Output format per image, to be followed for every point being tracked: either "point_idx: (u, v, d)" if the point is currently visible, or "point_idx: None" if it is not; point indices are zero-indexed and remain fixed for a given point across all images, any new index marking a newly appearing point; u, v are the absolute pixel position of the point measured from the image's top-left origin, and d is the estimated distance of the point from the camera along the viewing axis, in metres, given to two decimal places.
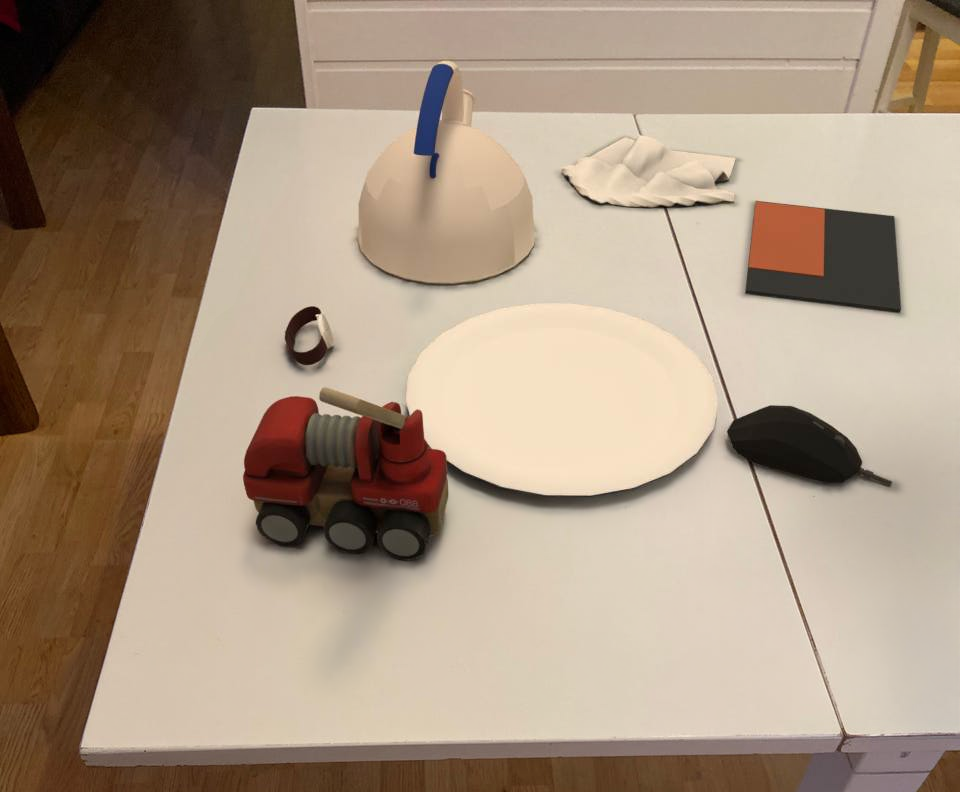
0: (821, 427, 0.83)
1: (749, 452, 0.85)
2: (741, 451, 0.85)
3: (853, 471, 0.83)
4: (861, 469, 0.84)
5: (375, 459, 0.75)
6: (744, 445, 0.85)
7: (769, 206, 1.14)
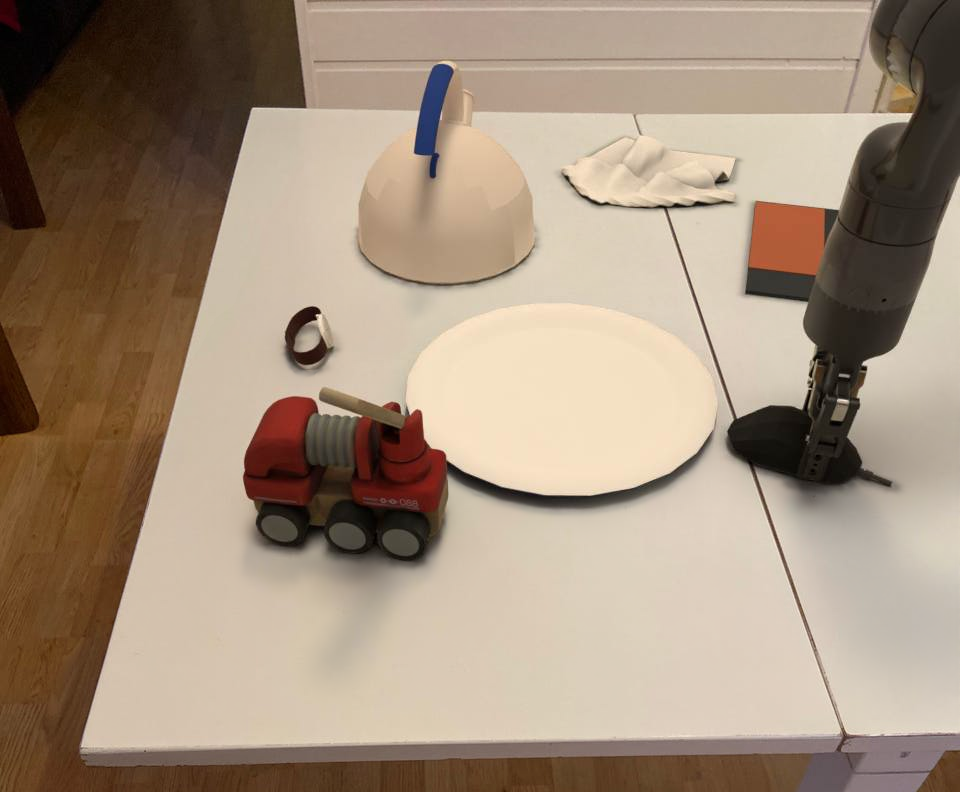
0: None
1: (749, 452, 0.85)
2: (741, 451, 0.85)
3: (853, 472, 0.83)
4: (861, 469, 0.84)
5: (375, 459, 0.75)
6: (744, 445, 0.85)
7: (769, 206, 1.14)
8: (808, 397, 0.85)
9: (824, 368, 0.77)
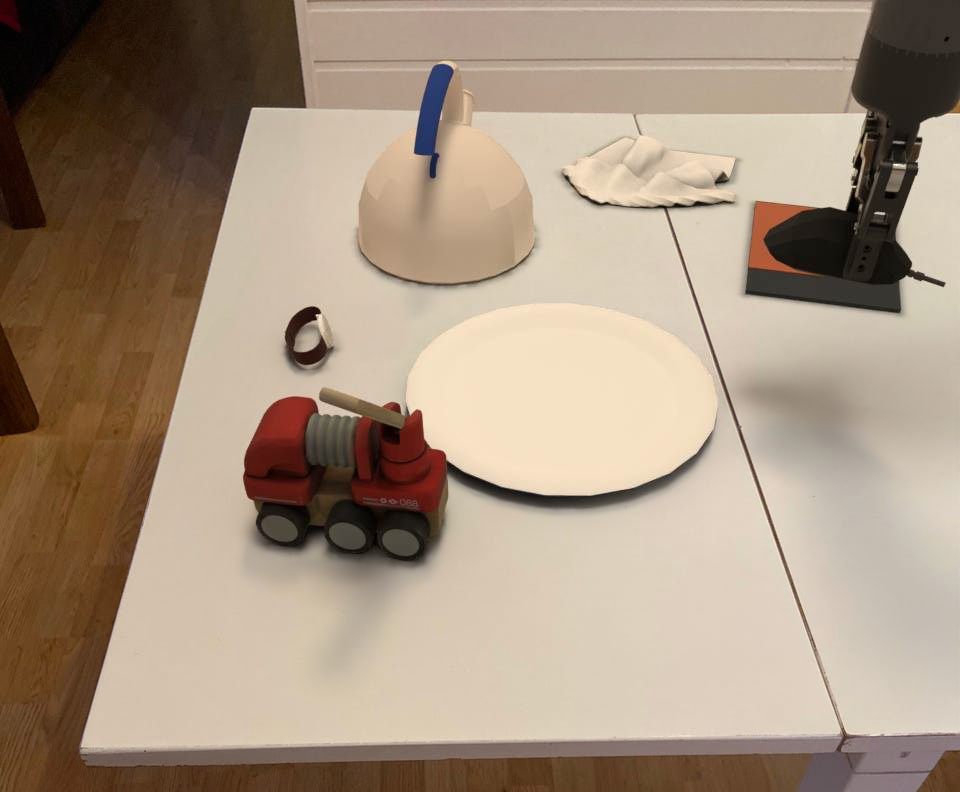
0: None
1: (789, 255, 0.78)
2: (780, 256, 0.78)
3: (904, 272, 0.77)
4: (911, 270, 0.77)
5: (375, 459, 0.75)
6: (784, 249, 0.78)
7: (769, 206, 1.14)
8: (852, 196, 0.78)
9: (875, 141, 0.70)
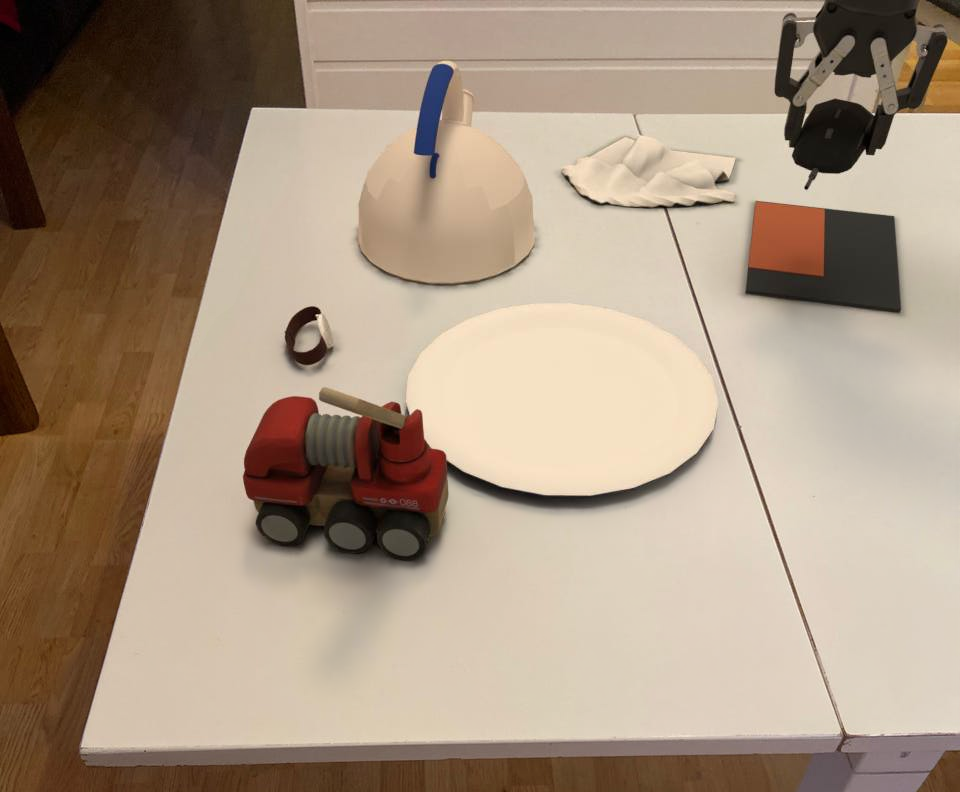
0: (836, 116, 0.88)
1: None
2: None
3: (805, 160, 0.88)
4: (815, 168, 0.88)
5: (375, 459, 0.75)
6: None
7: (769, 206, 1.14)
8: (876, 109, 0.88)
9: None
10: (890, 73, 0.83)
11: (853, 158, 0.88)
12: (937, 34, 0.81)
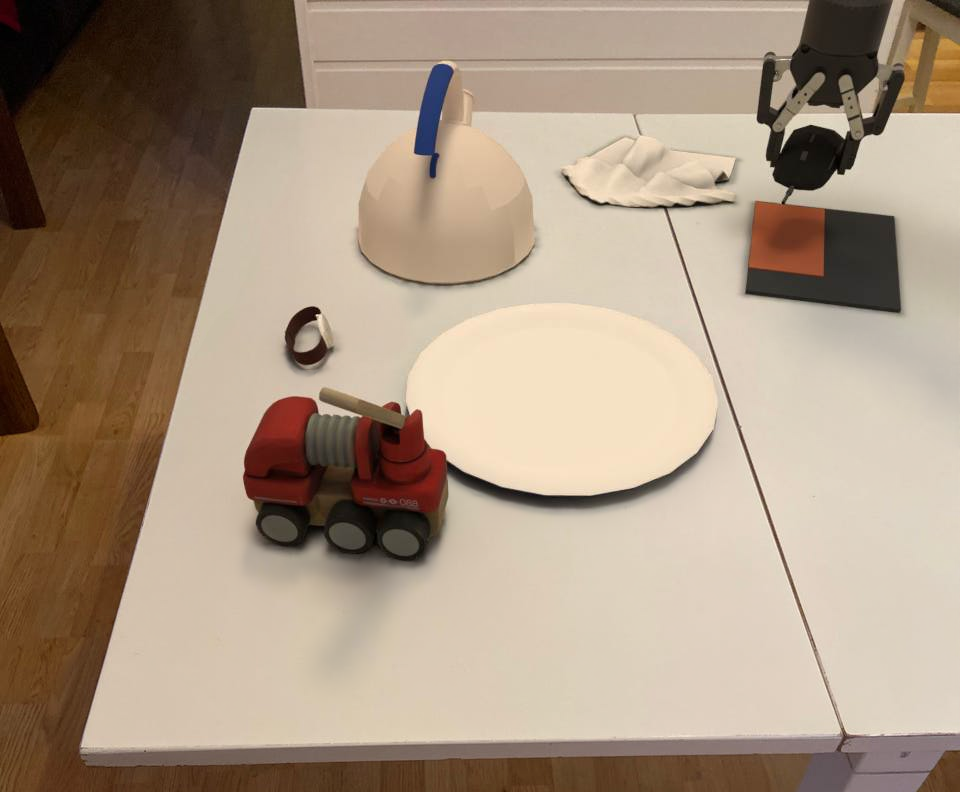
0: (810, 140, 1.01)
1: None
2: None
3: (783, 178, 1.01)
4: (791, 186, 1.01)
5: (375, 459, 0.75)
6: None
7: (769, 206, 1.14)
8: (846, 135, 1.01)
9: None
10: (856, 105, 0.96)
11: (825, 177, 1.01)
12: (896, 72, 0.94)
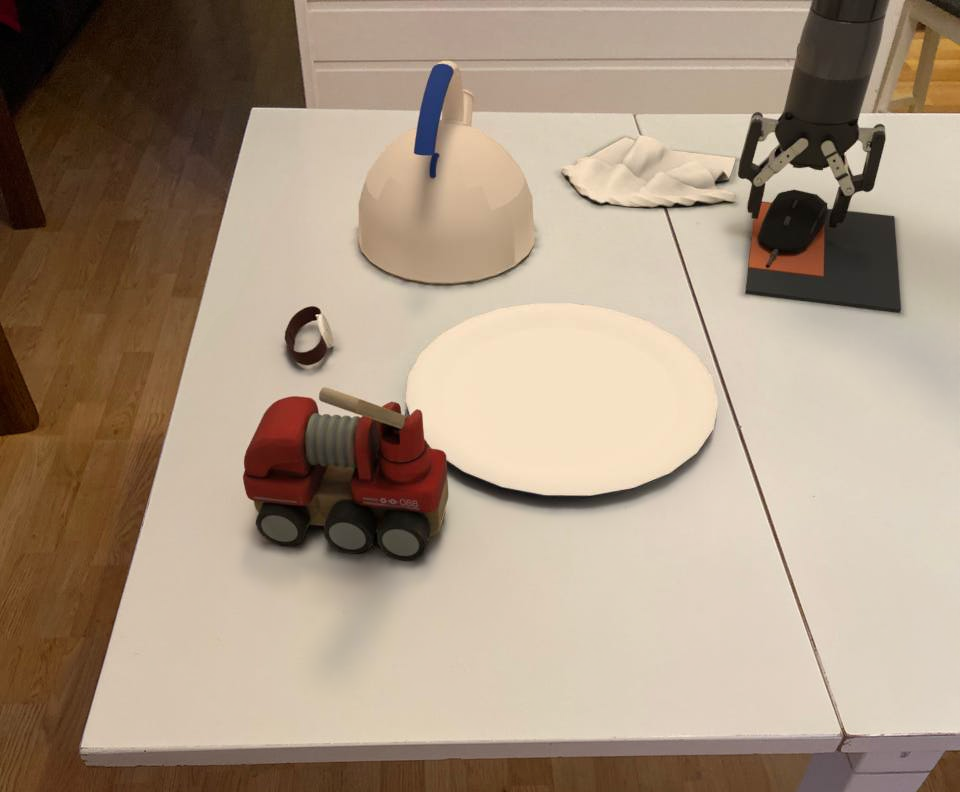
0: (793, 205, 1.06)
1: None
2: None
3: (768, 242, 1.06)
4: (775, 249, 1.06)
5: (375, 459, 0.75)
6: None
7: (769, 206, 1.14)
8: None
9: None
10: (842, 165, 1.01)
11: (807, 240, 1.06)
12: (876, 133, 0.98)
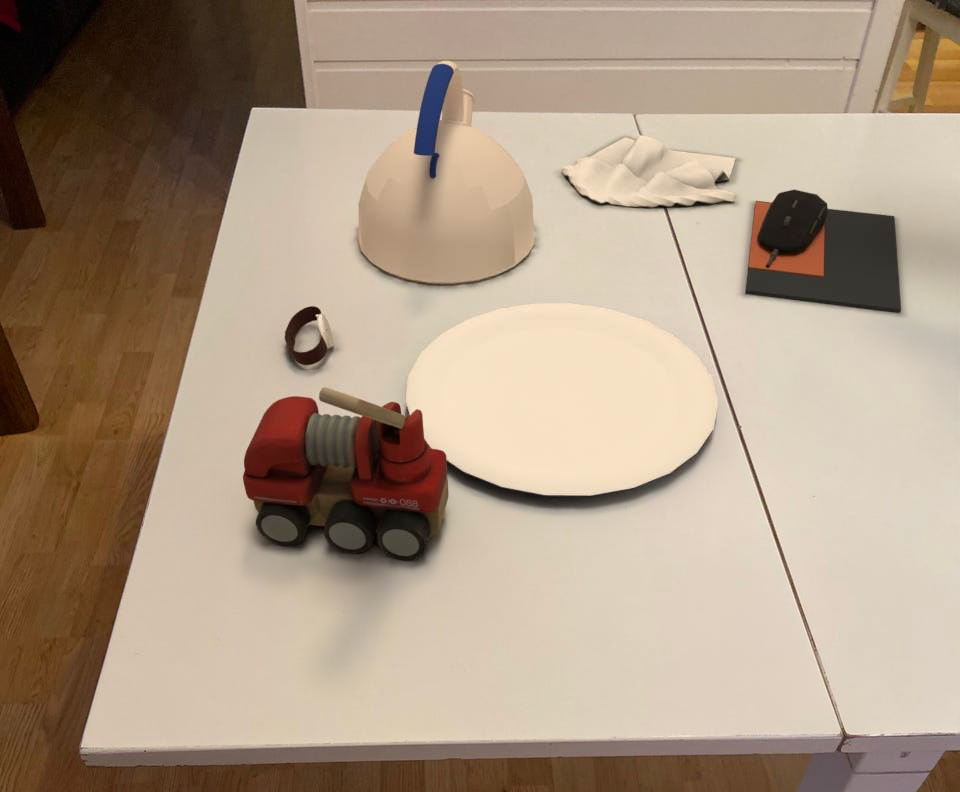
0: (793, 205, 1.06)
1: None
2: None
3: (768, 242, 1.06)
4: (775, 249, 1.06)
5: (375, 459, 0.75)
6: None
7: (769, 206, 1.14)
8: None
9: None
10: None
11: (807, 240, 1.06)
12: None
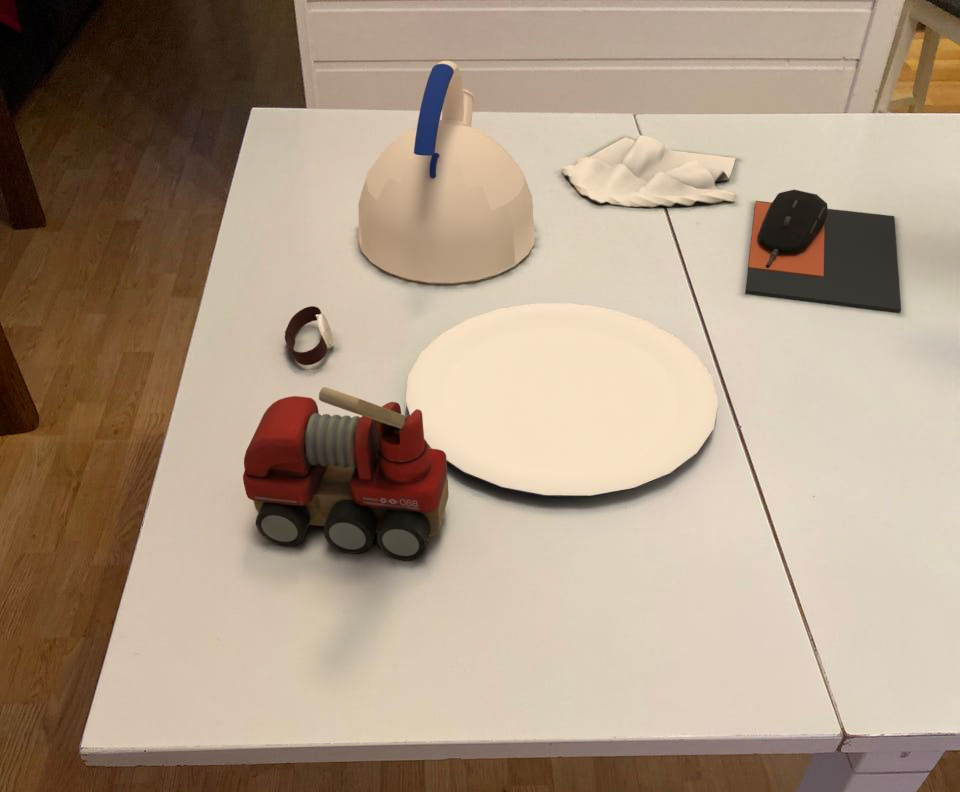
0: (793, 205, 1.06)
1: None
2: None
3: (768, 242, 1.06)
4: (775, 249, 1.06)
5: (375, 459, 0.75)
6: None
7: (769, 206, 1.14)
8: None
9: None
10: None
11: (807, 240, 1.06)
12: None
